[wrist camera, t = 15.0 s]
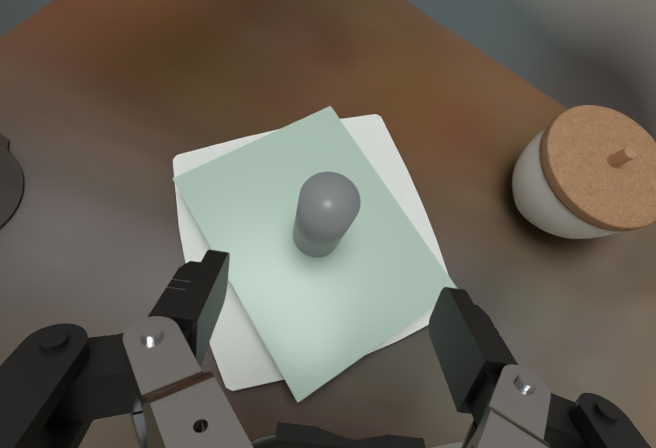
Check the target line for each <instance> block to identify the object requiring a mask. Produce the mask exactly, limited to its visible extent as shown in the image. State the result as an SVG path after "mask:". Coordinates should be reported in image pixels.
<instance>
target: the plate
mask: <svg viewBox="0 0 656 448" xmlns="http://www.w3.org/2000/svg"><path fill="white" fill-rule="evenodd" d="M340 120H341V122H342V123H343V125H344V126H345V128H346V129H347V130H348V132H349V133H350V135H351V136H352V138H353V139H354V141H355V142H356V143H357V145H358V146H359V148H360V149H361V151H362V152H363V154H364V155H365V156H366V158H367V159H368V161H369V162H370V164H371V165H372V166H373V168H374V169H375V171H376V172H377V174H378V175H379V177H380V178H381V179H382V181H383V182H384V184H385V185H386V187H387V188H388V190H389V191H390V192H391V194H392V195H393V197H394V198H395V200H396V201H397V202H398V204H399V205H400V207H401V208H402V210H403V211H404V213H405V214H406V215H407V217H408V218H409V220H410V221H411V223H412V224H413V226H414V227H415V228H416V230H417V231H418V233H419V234H420V236H421V237H422V238H423V240H424V241H425V243H426V244H427V246H428V247H429V249H430V250H431V251H432V253H433V254H434V256H435V257H436V259H437V260H438V262H439V263H440V264H441V266H442V267H443V269H444V270H445V272H446V273H447V270H446V267H445V264H444V261H443V258H442V255H441V252H440V249H439V246H438V243H437V240H436V237H435V235H434V232H433V230H432V227H431V225H430V222H429V219H428V217H427V214H426V212H425V209H424V207H423V204H422V202H421V200H420V197H419V195H418V193H417V191H416V188H415V186H414V184H413V182H412V179H411V177H410V175H409V173H408V170H407V168H406V166H405V164H404V162H403V160H402V158H401V156H400V154H399V152H398V150H397V148H396V146H395V144H394V142H393V140H392V138H391V136H390V134H389V132H388V130H387V128H386V126H385V124H384V122H383V120H382V118H381V117H380V116H378V115H376V114H373V115H366V116H359V117H353V118H346V119H340ZM275 131H277V130H274V131H270V132H265V133H261V134H257V135H252V136H248V137H244V138H240V139H236V140H232V141H228V142H225V143H221V144H217V145H213V146H209V147H206V148H202V149H198V150H194V151H191V152H187V153H183V154H179V155H176V157H175V158H174V159H173V168H174V177H177V176H179V175H181V174H183V173H185V172H188V171H190V170H192V169H194V168H196V167H198V166H201V165H203V164H205V163H207V162H209V161H212V160H214V159H216V158H218V157H220V156H222V155H225V154H227V153H229V152H231V151H233V150H236V149H238V148H240V147H242V146H244V145H246V144H249V143H251V142H253V141H255V140H257V139H260V138H262V137H264V136H266V135H268V134H270V133H273V132H275ZM175 190H176V200H177V211H178V222H179V230H180V236H181V241H182V247H183V252H184V257H185V263H187V262H189V261H195V262H201V261H202V259H203V257H204V255H205V254H206V252H207V250H208V249H210V250H212V249H211V247H210V245H209V243H208V241H207V240H206V238H205V236H204V234H203V232H202V231H201V229H200V227H199V225H198V224H197V222H196V220H195V218H194V216H193V215H192V213H191V211H190V209H189V207H188V206H187V204H186V202H185V200H184V199H183V197H182V195H181V193H180V191H179V190H178V188H177V186H176V184H175ZM447 274H448V273H447ZM434 307H435V306H433V307H432V308H430V309H429V310H428V311H426V312H425V313H423V314H422V315H421V316H419V317H418V318H416V319H415V320H414V321H412V322H411V323H409V324H408V325H407V326H405V327H404V328H402V329H401V330H399V331H398V332H397V333H395V334H394V335H392V336H391V337H390V338H388V339H387V340H385V341H384V342H383V343H381V344H380V345H378V346H377V347H376V348H374V349H373V350H371V351H370V352H369V353H371V352H373V351H376V350H378V349H380V348H383V347H385V346H387V345H390V344H392V343H395V342H397V341H399V340H401V339H402V338H404V337H406V336H408V335H410V334H412V333H414V332H416V331H417V330H419V329H421V328H423V327H425V326H427V325H429V319H430V316H431V314H432V311H433V309H434ZM209 343H210V346H211V349H212V352H213V354H214V357H215V360H216V362H217V365H218V368H219V371H220V373H221V376H222V379H223V381H224V384H225V387H226V388H228V389H230V390H232V391H235V390H239V389H244V388H248V387H253V386H257V385H262V384H266V383H271V382H275V381H280V380H284V377H283V376H282V374H281V372H280V370H279V368H278V367H277V365H276V363H275V361H274V359H273V358H272V356H271V354H270V352H269V350H268V349H267V347H266V345H265V343H264V342H263V340H262V338H261V336H260V334H259V333H258V331H257V329H256V327H255V325H254V324H253V322H252V320H251V318H250V317H249V315H248V313H247V311H246V309H245V308H244V306H243V304H242V302H241V300H240V299H239V297H238V295H237V293H236V291H235V290H234V288H233V286H232V284H231V283H230V281H229V279H228V284H227V292H226V297H225V301H224V304H223V307H222V310H221V312H220V315H219V318H218V320H217V323H216V326H215V328H214V331H213V334H212V336H211V339H210V342H209ZM367 354H368V353H367Z"/></svg>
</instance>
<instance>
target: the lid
mask: <svg viewBox="0 0 656 448" xmlns="http://www.w3.org/2000/svg"><path fill="white" fill-rule="evenodd" d="M172 179H173V181H174V182H175V184H176V186H177V188H178V190H179V191H180V193H181V195H182V197H183V199H184V200H185V202H186V204H187V206H188V207H189V209H190V211H191V213H192V215H193V216H194V218H195V220H196V222H197V224H198V225H199V227H200V229H201V231H202V232H203V234H204V236H205V238H206V240H207V241H208V243H209V245H210V247H211V249H212V250H216V251H223V252H229V253H230V261H229V272H228V279H229V281H230V283H231V284H232V286H233V288H234V290H235V291H236V293H237V295H238V297H239V299H240V300H241V302H242V304H243V306H244V308H245V309H246V311H247V313H248V315H249V317H250V318H251V320H252V322H253V324H254V325H255V327H256V329H257V331H258V333H259V334H260V336H261V338H262V340H263V342H264V343H265V345H266V347H267V349H268V350H269V352H270V354H271V356H272V358H273V359H274V361H275V363H276V365H277V367H278V368H279V370H280V372H281V374H282V376H283V377H284V379H285V381H286V383H287V384H288V386H289V388H290V390H291V392H292V393H293V395H294V397H295V399H296V401H297V402H300V401H301V400H303V399H304V398H305V397H307V396H308V395H310V394H311V393H312V392H314V391H315V390H317V389H318V388H319V387H321V386H322V385H324V384H325V383H326V382H328V381H329V380H331V379H332V378H333V377H335V376H336V375H338V374H339V373H340V372H342V371H343V370H345V369H346V368H347V367H349V366H350V365H352V364H353V363H355V362H356V361H357V360H359V359H360V358H362V357H363V356H364V355H366V354H367V353H369V352H370V351H371V350H373V349H374V348H376V347H377V346H378V345H380V344H381V343H383V342H384V341H385V340H387V339H388V338H390V337H391V336H392V335H394V334H395V333H397V332H398V331H399V330H401V329H402V328H404V327H405V326H407V325H408V324H409V323H411V322H412V321H414V320H415V319H416V318H418V317H419V316H421V315H422V314H423V313H425V312H426V311H428V310H429V309H430V308H432V307H433V306H435V304H436V302H437V299H438V297H439V294H440V292H441V290H442V289H443V288H444V287H450V288H456V289H457V287H456V286H455V285H454V283H453V282H452V280H451V279H450V277H449V276H448V274H447V273H446V272H445V270H444V269H443V267H442V266H441V264H440V263H439V262H438V260H437V259H436V257H435V256H434V254H433V253H432V251H431V250H430V249H429V247H428V246H427V244H426V243H425V241H424V240H423V238H422V237H421V236H420V234H419V233H418V231H417V230H416V228H415V227H414V226H413V224H412V223H411V221H410V220H409V218H408V217H407V215H406V214H405V213H404V211H403V210H402V208H401V207H400V205H399V204H398V202H397V201H396V200H395V198H394V197H393V195H392V194H391V192H390V191H389V190H388V188H387V187H386V185H385V184H384V182H383V181H382V179H381V178H380V177H379V175H378V174H377V172H376V171H375V169H374V168H373V166H372V165H371V164H370V162H369V161H368V159H367V158H366V156H365V155H364V154H363V152H362V151H361V149H360V148H359V146H358V145H357V143H356V142H355V141H354V139H353V138H352V136H351V135H350V133H349V132H348V130H347V129H346V128H345V126H344V125H343V123H342V122H341V120H340V119H339V118H338V116H337V115H336V113H335V112H334V110H333V109H332V107H331V106H329V107H327V108H325V109H323V110H321V111H318V112H316V113H314V114H312V115H310V116H308V117H305V118H303V119H301V120H299V121H297V122H294V123H292V124H290V125H288V126H286V127H284V128H281V129H279V130H277V131H275V132H273V133H270V134H268V135H266V136H264V137H262V138H260V139H257V140H255V141H253V142H251V143H249V144H246V145H244V146H242V147H240V148H238V149H236V150H233V151H231V152H229V153H227V154H225V155H222V156H220V157H218V158H216V159H214V160H212V161H209V162H207V163H205V164H203V165H201V166H198V167H196V168H194V169H192V170H190V171H188V172H185V173H183V174H181V175H179V176H177V177H174V178H172Z"/></svg>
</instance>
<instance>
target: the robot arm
mask: <svg viewBox="0 0 656 448" xmlns="http://www.w3.org/2000/svg"><path fill="white" fill-rule="evenodd" d="M22 191H23V176H22V171H21V169H20V166H19V164H18V162H17V161H16V160H15V158H14V157H13V156H12V155H11V154H10V152H9V151H8V139H7V138H6V137H5V136H3V135H2V134H1V133H0V227H1V226H2V225H3V224H4V223H5V222H6V221H7V220H8V219H9V218H10V216H11V215H12V214H13V212H14V210H15V209H16V207H17V206H18V203H19V201H20V198H21V195H22ZM229 261H230V253H229V252H223V251H216V250H210V249H208V250H207V252H206V254H205V255H204V257H203V259H202V261H201V262H195V261H189V262H187V263H186V264H184V265H183V266H181V267H180V268H179V269H178V270H177V272H176V273H175V275H174V276H173V279H172V280H171V281H170V283H169V284H168V286H167V288H166V289H165V291H164V292H163V294H162V295H161V297H160V298H159V300H158V302H157V303H156V305H155V306H154V308H153V309H152V311H151V313H150V314H149V316H148V317H147V318H143V319H140V320H138V321H136V322H135V323H133V324H132V325H130V326H129V327H128V328H127V329H126V331H125V333H121V334H117V335H110V336H101V337H91V338H88V336H87V332H86V331H85V330H84V329H83V328H82V327H80V326H78V325H75V324H56V325H51V326H48V327H45V328H42V329H40V330H38V331H36V332H34V333H32V334H31V335H29V336H28V337H27V338H26V339H25V340H24V341H23V342H22V343H21V344H20V345H19V346H18V347H17V348H16V349H15V350H14V352H13V353H12V354H11V355H10V356H9V357H8V358H7V359H6V360H5V361H4V363H3V364H2V365H1V366H0V448H78V447H79V445H80V443H81V441H82V439H83V438H84V436H85V434H86V432H87V430H88V428H89V426H90V425H91V423H92V421H93V420H94V419H100V418H105V417H111V416H116V415H122V414H127V413H129V414H130V417H131V420H132V423H133V427H134V430H135V433H136V436H137V440H138V443H139V446H140V448H425V444H424V440H423V439H422V438H413V437H404V436H395V435H384V436H378V437H372V438H366V439H360V440H350V439H347V438H344V437H341V436H339V435H336V434H333V433H331V432H328V431H325V430H323V429H320V428H317V427H315V426H306V425H297V424H288V423H279V422H278V424H277V429H276V433H275V435H272V436H267V437H263V438H260V439H257V440H255V441H253V442H250V441H249V439H248V437H247V435H246V433H245V431H244V429H243V428H242V426H241V424H240V422H239V420H238V418H237V417H236V415H235V413H234V411H233V409H232V407H231V406H230V404H229V402H228V400H227V398H226V396H225V394H224V393H223V391H222V389H221V387H220V385H219V383H218V382H217V380H216V378H215V376H214V375H213V374H212V373H211V372H206V373H203V372H202V370H201V368H200V365H201V363H202V360H203V357H204V355H205V352H206V349H207V347H208V344H209V342H210V339H211V336H212V334H213V331H214V328H215V326H216V323H217V320H218V318H219V315H220V312H221V310H222V307H223V304H224V301H225V297H226V292H227V284H228V272H229ZM428 330H429V335H430V338H431V341H432V343H433V346H434V349H435V351H436V354H437V357H438V360H439V362H440V365H441V368H442V371H443V373H444V376H445V379H446V382H447V384H448V387H449V390H450V393H451V395H452V398H453V401H454V404H455V406H456V409H457V412H461V413H469V414H472V415H473V418H474V419H473V421H472V423H471V425H470V427H469V429H468V432H467V434H466V437H465V439H464V441H463V444H462V446H461V448H651V447H650V446H649V444H648V443H647V442H646V440H645V439H644V438H643V436H642V435H641V434H640V433H639V431H638V430H637V429H636V427H635V426H634V425H633V423H632V422H631V421H630V419H629V418H628V417H627V416H626V414H625V413H624V412H623V411H622V410H621V409H619V408H618V407H617V406H616V405H614V404H613V403H612V402H610V401H609V400H607V399H605V398H603V397H601V396H599V395H596V394H592V393H583V394H581V395H580V396H579V398H578V399H577V400H576V402H573V401H570V400H567V399H565V398H562V397H560V396H557V395H555V394H552V393H550V390H549V388H548V387H547V385H546V384H545V382H544V381H543V380H542V379H541V378H540V377H539V376H538V375H536V374H535V373H534V372H532V371H530V370H529V369H527V368H525V367H522V366H519V365H518V364H517V362H516V360H515V359H514V357H513V356H512V354H511V352H510V351H509V349H508V347H507V346H506V344H505V342H504V341H503V339H502V337H500V334H499V332H498V331H497V329H496V328H494V324H493V323H492V321H491V319H490V318H489V316H488V315H487V314H486V313H485V312H484V311H483V310H482V309H481V308H480V307H479V306H478V305H474V303H473V302H472V300H471V298H470V297H469V295H468V293H467V292H466V291H465V290H463V289H456V288H450V287H444V288H443V289H442V290H441V292H440V294H439V297H438V299H437V302H436V304H435V307H434V309H433V311H432V314H431V316H430V319H429V325H428Z"/></svg>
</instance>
